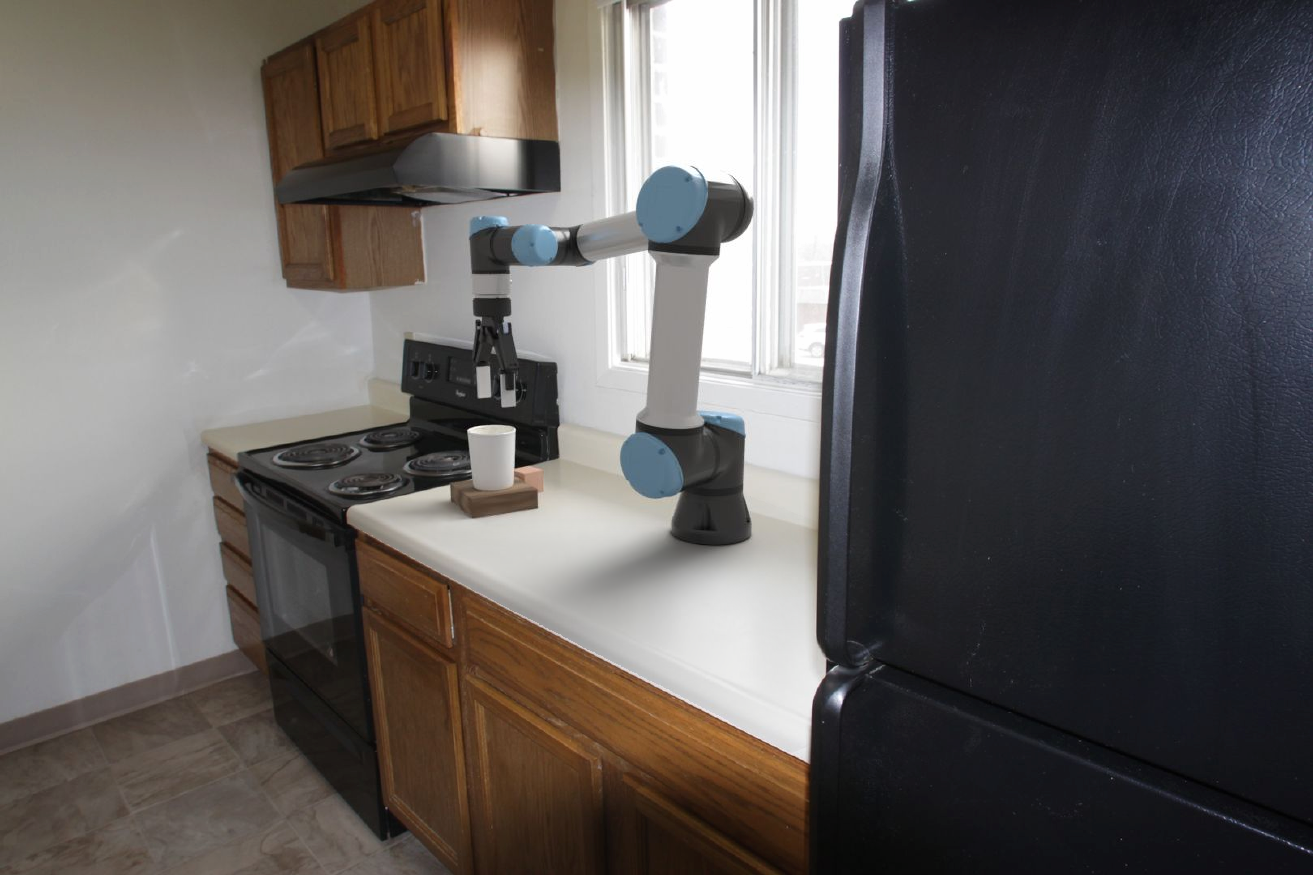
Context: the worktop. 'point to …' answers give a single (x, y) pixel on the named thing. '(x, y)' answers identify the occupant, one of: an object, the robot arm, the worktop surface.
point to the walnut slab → (493, 498)
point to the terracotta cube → (531, 476)
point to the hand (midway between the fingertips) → (496, 402)
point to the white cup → (492, 456)
